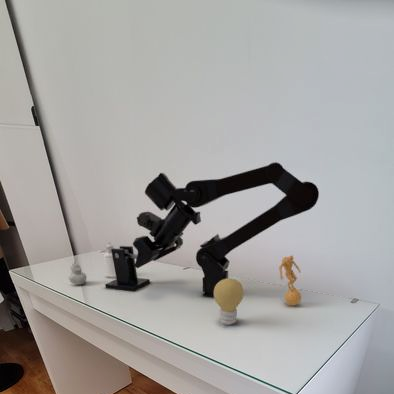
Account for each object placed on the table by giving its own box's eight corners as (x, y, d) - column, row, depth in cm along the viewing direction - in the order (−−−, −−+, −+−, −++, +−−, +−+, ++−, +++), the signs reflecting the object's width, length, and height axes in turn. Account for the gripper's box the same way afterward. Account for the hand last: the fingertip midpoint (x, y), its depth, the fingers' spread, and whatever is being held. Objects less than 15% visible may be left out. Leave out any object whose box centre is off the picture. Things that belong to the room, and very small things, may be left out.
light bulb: (224, 314, 69) (224, 273, 64) (247, 321, 65) (249, 277, 60) (208, 324, 64) (207, 280, 59) (232, 331, 61) (233, 285, 56)
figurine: (289, 311, 69) (296, 260, 63) (269, 305, 73) (273, 257, 66) (307, 302, 73) (315, 254, 67) (287, 297, 77) (292, 251, 71)
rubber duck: (75, 287, 93) (69, 262, 89) (67, 284, 97) (60, 260, 93) (91, 283, 96) (85, 259, 92) (82, 280, 100) (76, 257, 96)
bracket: (150, 282, 94) (145, 245, 88) (134, 291, 87) (128, 251, 81) (122, 280, 98) (116, 244, 92) (105, 288, 91) (97, 249, 85)
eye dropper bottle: (114, 279, 99) (107, 243, 93) (105, 276, 103) (98, 241, 97) (124, 276, 102) (118, 241, 96) (116, 274, 106) (109, 239, 99)
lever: (154, 262, 87) (154, 254, 86) (145, 266, 83) (145, 257, 82) (124, 255, 90) (123, 247, 89) (114, 258, 87) (113, 250, 85)
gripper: (170, 198, 83) (143, 237, 92) (133, 202, 68) (106, 248, 78) (196, 228, 84) (167, 263, 93) (165, 238, 69) (134, 279, 79)
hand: (145, 263), depth 86 cm, fingers open, 9 cm apart
